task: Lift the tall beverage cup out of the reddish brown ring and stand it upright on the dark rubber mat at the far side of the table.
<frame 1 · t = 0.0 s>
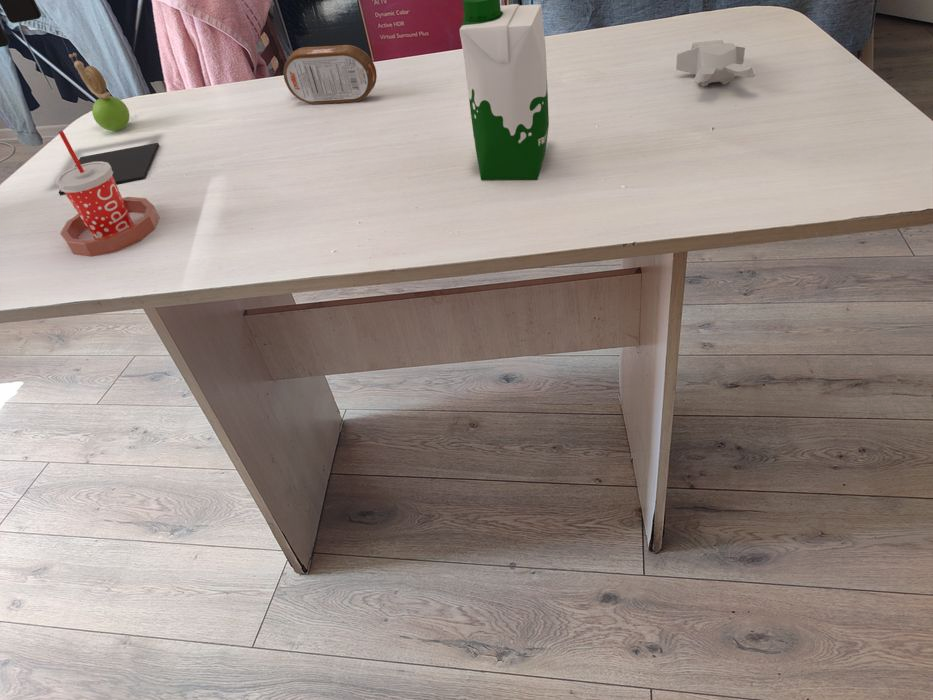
hand: (10, 33, 67), 24 cm above the table, tool pointing down, fingers open, 9 cm apart
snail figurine: (117, 130, 113), on the table
reddish brown ring: (118, 240, 84), on the table
beverage cup: (119, 241, 84), resting in reddish brown ring
milk carton: (514, 168, 85), on the table
tin: (336, 102, 111), on the table
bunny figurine: (711, 82, 98), on the table
mat: (112, 169, 101), on the table
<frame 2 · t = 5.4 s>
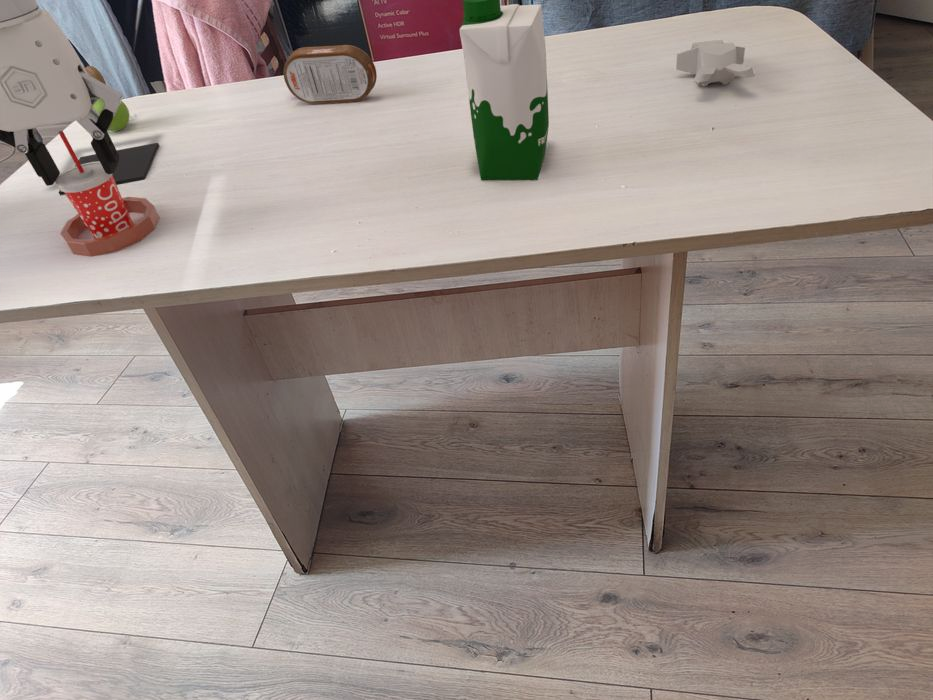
hand: (82, 173, 78), 9 cm above the table, tool pointing down, fingers closed on beverage cup, 6 cm apart
beverage cup: (119, 241, 84), resting in reddish brown ring, touching gripper
everything else where it was.
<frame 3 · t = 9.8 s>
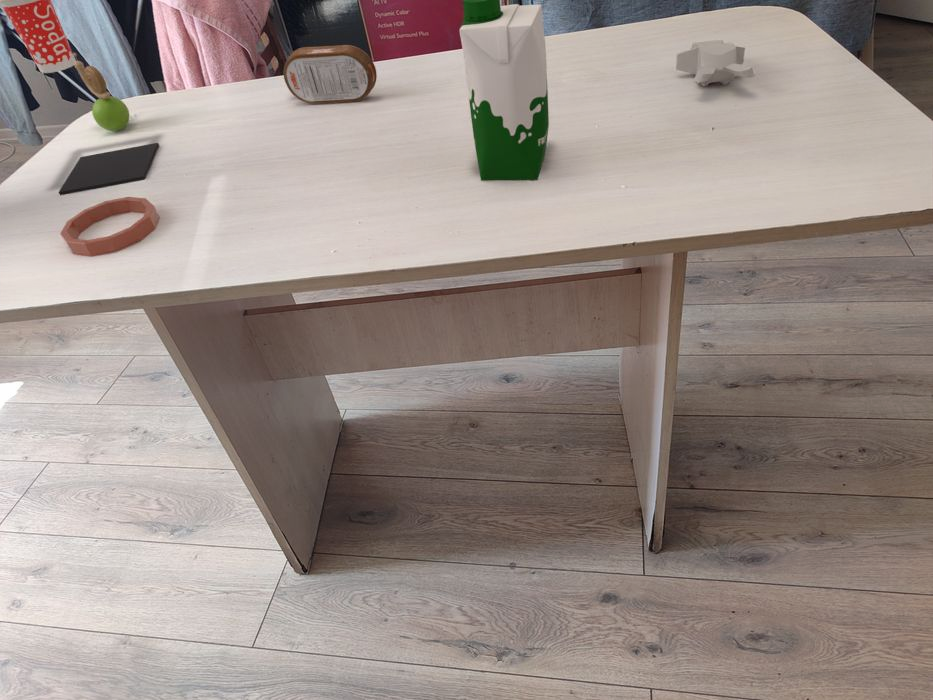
beverage cup: (59, 68, 90), point 15 cm above the table, touching gripper
everything else where it was.
when the fingers open (10 cm above the table, at t = 14.3 s): beverage cup stays where it is, resting on mat.
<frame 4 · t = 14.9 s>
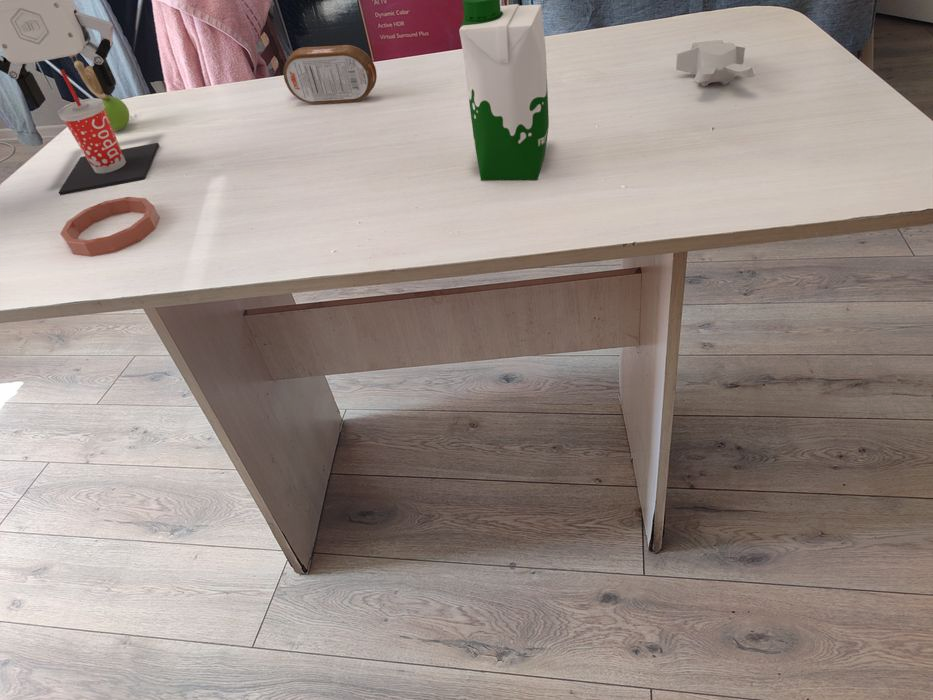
hand: (75, 98, 94), 11 cm above the table, tool pointing down, fingers open, 9 cm apart
beverage cup: (110, 167, 100), resting on mat
everything else where it was.
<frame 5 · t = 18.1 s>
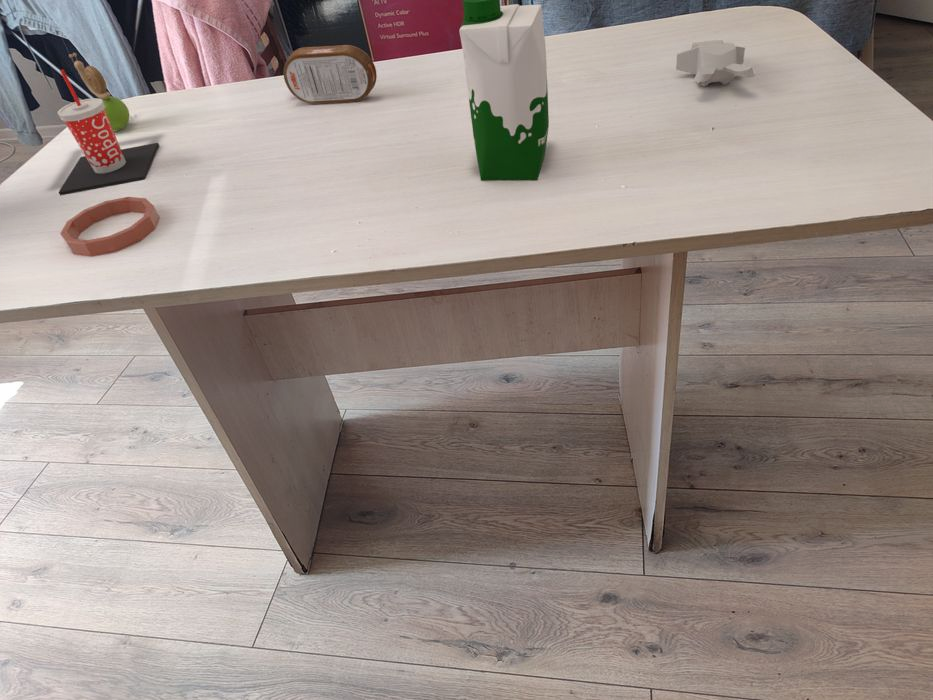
nothing on the table moved.
at the end: beverage cup inside the target area on the mat (0.0 cm from its centre), point 0.3 cm above the mat's base; beverage cup tilted 0°; beverage cup touching mat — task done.
